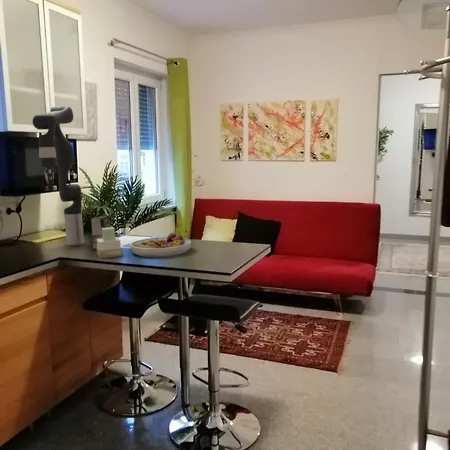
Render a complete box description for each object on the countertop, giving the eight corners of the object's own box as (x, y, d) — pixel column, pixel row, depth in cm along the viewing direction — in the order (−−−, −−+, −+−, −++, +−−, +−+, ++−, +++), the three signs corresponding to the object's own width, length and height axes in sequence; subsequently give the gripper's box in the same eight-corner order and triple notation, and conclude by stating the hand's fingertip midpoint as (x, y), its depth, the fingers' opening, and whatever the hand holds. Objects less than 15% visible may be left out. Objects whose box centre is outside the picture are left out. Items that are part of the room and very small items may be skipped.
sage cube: (102, 239, 228) (101, 228, 227) (113, 238, 230) (113, 227, 229) (103, 240, 223) (102, 229, 222) (115, 239, 225) (114, 228, 224)
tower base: (97, 254, 230) (96, 247, 229) (117, 252, 234) (117, 245, 233) (100, 258, 221) (99, 250, 220) (121, 256, 225) (120, 248, 224)
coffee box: (104, 248, 243) (102, 218, 240) (92, 248, 244) (90, 218, 242) (111, 245, 252) (109, 216, 249) (100, 245, 253) (98, 216, 251)
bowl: (174, 260, 212) (174, 243, 211) (118, 257, 223) (117, 241, 221) (200, 247, 240) (200, 232, 239) (149, 245, 250) (149, 230, 249)
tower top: (97, 246, 230) (96, 239, 229) (117, 245, 233) (117, 237, 232) (99, 250, 220) (98, 242, 220) (120, 248, 224) (120, 240, 223)
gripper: (57, 156, 218) (60, 191, 221) (55, 156, 231) (57, 189, 233) (40, 157, 215) (43, 191, 218) (38, 157, 228) (41, 190, 230)
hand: (50, 190), depth 225 cm, fingers open, 8 cm apart
